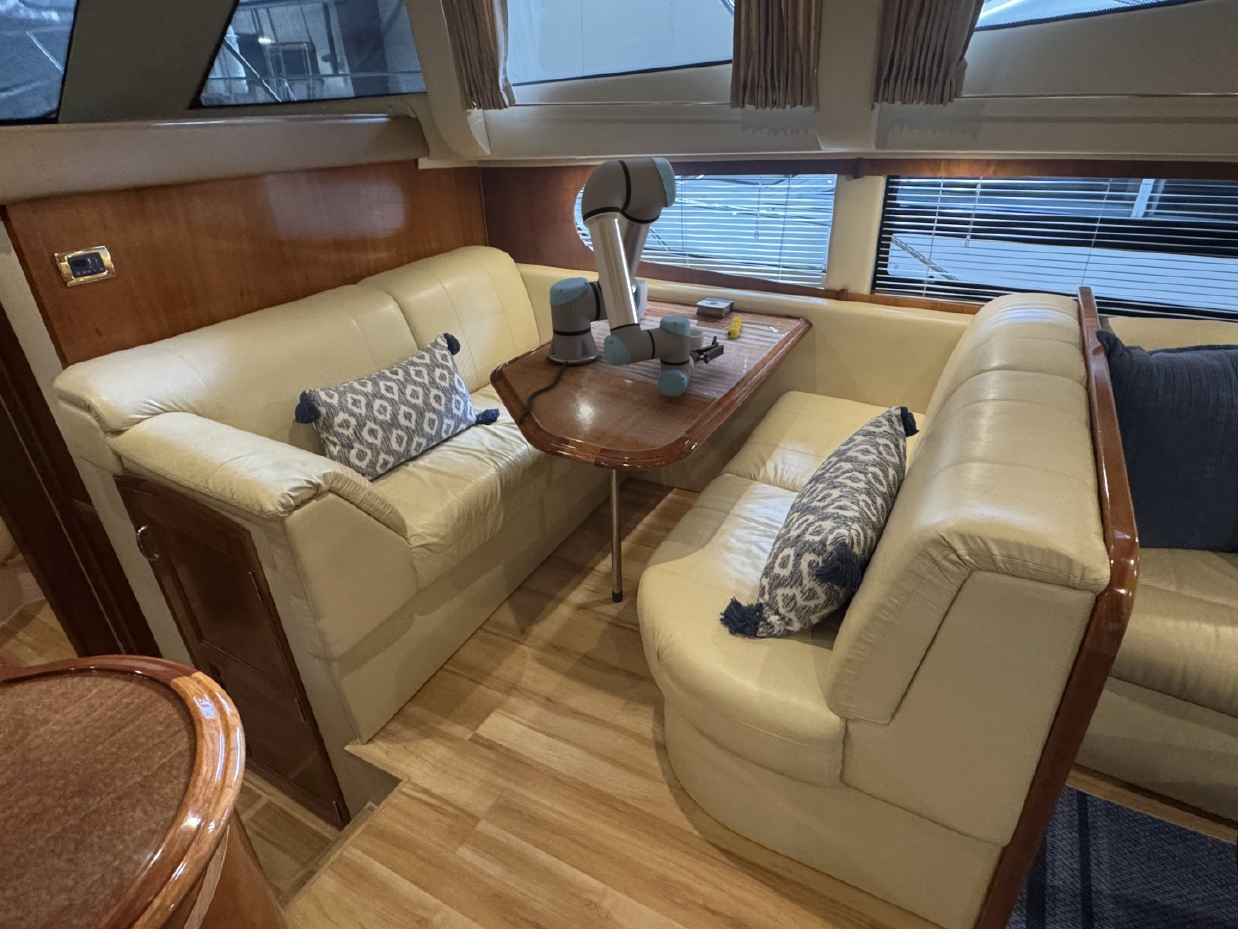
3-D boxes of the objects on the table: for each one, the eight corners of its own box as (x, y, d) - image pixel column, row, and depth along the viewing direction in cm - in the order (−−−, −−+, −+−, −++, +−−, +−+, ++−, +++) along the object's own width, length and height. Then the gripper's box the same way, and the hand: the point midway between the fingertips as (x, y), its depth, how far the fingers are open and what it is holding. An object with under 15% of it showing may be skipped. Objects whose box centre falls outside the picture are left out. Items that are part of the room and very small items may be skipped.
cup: (688, 349, 208) (688, 324, 204) (711, 353, 204) (712, 327, 200) (672, 360, 200) (672, 334, 196) (696, 364, 196) (697, 338, 192)
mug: (602, 319, 239) (600, 283, 232) (616, 311, 247) (615, 276, 241) (639, 324, 233) (638, 286, 226) (652, 315, 241) (652, 279, 235)
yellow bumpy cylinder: (738, 339, 214) (738, 329, 212) (726, 339, 215) (727, 328, 213) (742, 324, 228) (742, 314, 227) (731, 324, 229) (732, 313, 227)
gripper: (636, 374, 184) (651, 349, 202) (726, 379, 179) (734, 353, 197) (635, 348, 181) (651, 325, 199) (727, 353, 175) (735, 328, 193)
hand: (692, 339), depth 198 cm, fingers open, 13 cm apart
